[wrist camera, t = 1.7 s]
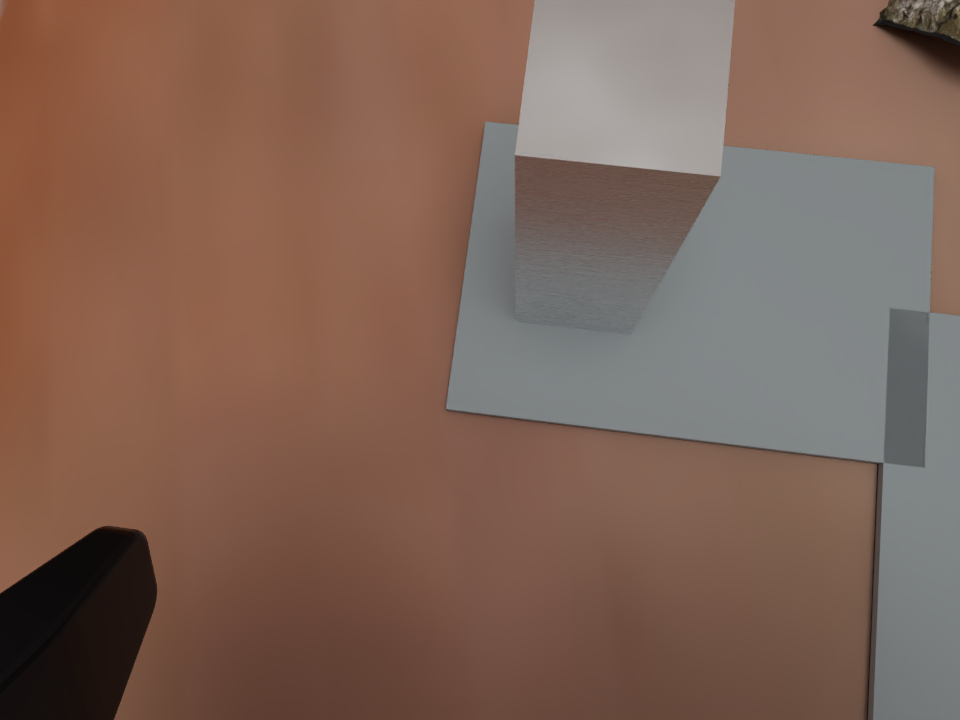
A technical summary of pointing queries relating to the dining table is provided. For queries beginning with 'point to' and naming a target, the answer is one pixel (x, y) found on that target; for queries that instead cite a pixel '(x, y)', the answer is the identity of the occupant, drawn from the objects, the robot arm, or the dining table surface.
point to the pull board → (720, 298)
